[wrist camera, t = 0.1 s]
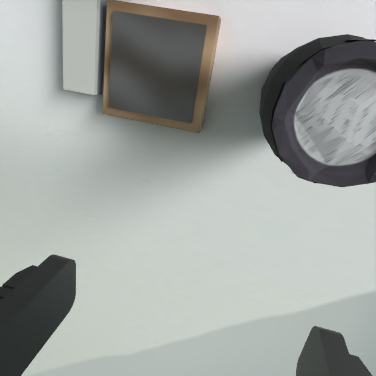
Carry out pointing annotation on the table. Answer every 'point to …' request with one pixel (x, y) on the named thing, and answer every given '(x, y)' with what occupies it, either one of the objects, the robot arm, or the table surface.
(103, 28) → the eraser
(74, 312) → the table surface
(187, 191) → the table surface
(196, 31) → the stand
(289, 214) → the table surface
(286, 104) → the portable speaker
